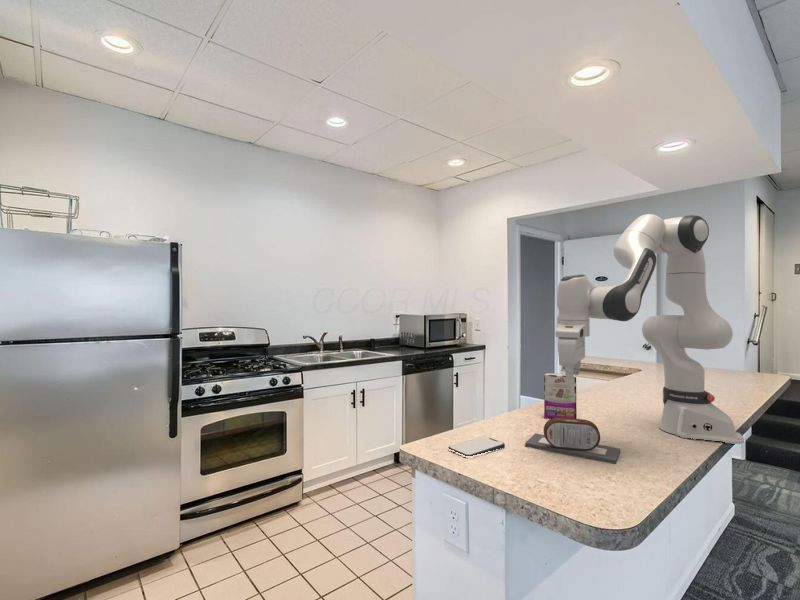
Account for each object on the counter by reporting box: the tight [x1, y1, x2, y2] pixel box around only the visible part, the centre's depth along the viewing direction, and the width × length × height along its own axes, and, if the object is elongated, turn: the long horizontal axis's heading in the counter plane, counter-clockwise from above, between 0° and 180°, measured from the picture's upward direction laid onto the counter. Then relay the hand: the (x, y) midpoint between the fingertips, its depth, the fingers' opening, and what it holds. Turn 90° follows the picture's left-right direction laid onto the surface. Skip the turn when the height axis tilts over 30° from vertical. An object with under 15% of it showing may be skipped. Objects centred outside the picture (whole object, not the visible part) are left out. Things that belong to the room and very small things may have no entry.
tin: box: [543, 417, 601, 451], centre depth 117 cm, size 15×3×8 cm, turn 75°
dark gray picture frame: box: [524, 432, 621, 465], centre depth 119 cm, size 24×11×1 cm, turn 57°
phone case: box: [447, 436, 506, 456], centre depth 119 cm, size 9×2×16 cm
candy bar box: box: [543, 372, 578, 420], centre depth 151 cm, size 11×5×16 cm, turn 68°
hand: (572, 377), depth 120 cm, fingers open, 8 cm apart
